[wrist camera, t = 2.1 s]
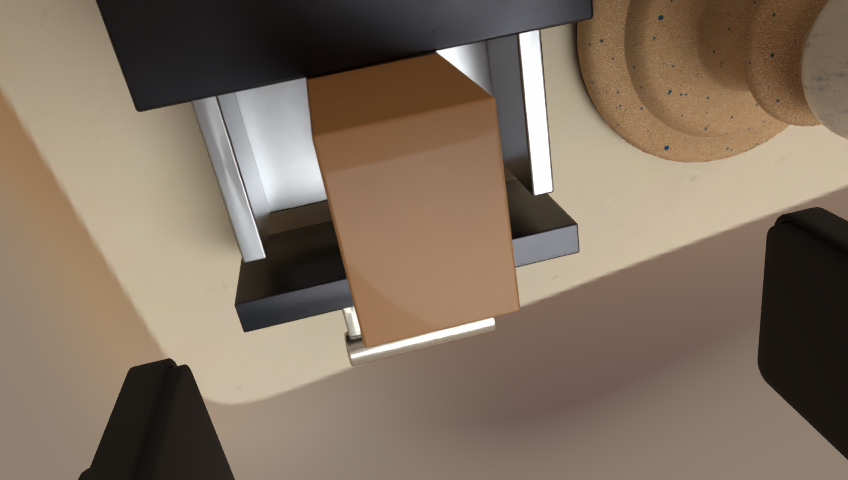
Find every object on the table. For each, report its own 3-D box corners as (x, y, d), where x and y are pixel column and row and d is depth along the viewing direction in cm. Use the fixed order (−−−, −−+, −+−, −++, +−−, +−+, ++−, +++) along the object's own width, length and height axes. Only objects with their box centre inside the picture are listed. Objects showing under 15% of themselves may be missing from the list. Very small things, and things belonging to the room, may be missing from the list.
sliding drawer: (539, 273, 30) (585, 335, 26) (275, 337, 29) (271, 414, 25) (509, -30, 25) (561, -22, 20) (177, 35, 23) (148, 60, 19)
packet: (336, 193, 26) (365, 350, 16) (302, 52, 23) (311, 136, 14) (435, 171, 26) (521, 311, 16) (411, 30, 24) (496, 96, 14)
